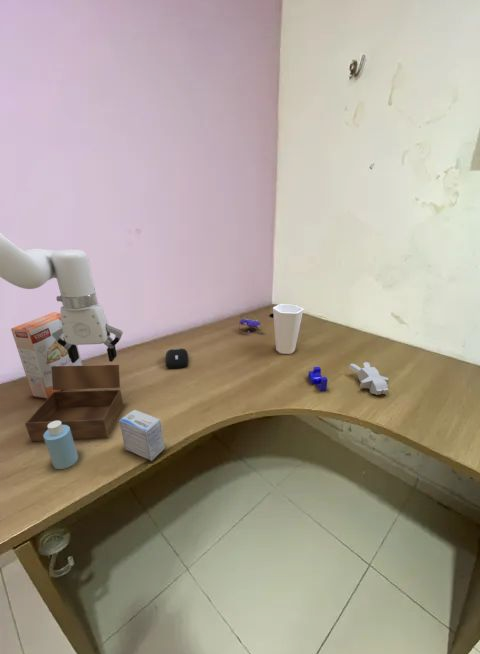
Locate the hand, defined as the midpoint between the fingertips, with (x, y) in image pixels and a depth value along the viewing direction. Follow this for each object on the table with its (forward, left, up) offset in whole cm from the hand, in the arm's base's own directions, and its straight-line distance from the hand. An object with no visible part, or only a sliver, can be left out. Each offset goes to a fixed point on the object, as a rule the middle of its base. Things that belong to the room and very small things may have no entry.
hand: (94, 359), depth 86 cm
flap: (0, -6, -2) cm, 6 cm away
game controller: (+47, +45, -11) cm, 66 cm away
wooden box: (0, -13, -11) cm, 17 cm away
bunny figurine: (+82, 0, -11) cm, 83 cm away
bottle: (+2, -26, -11) cm, 29 cm away
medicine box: (+18, -24, -11) cm, 32 cm away
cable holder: (+65, +1, -11) cm, 66 cm away
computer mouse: (+19, +19, -11) cm, 29 cm away
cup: (+59, +26, -11) cm, 65 cm away
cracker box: (-13, +5, -11) cm, 18 cm away
